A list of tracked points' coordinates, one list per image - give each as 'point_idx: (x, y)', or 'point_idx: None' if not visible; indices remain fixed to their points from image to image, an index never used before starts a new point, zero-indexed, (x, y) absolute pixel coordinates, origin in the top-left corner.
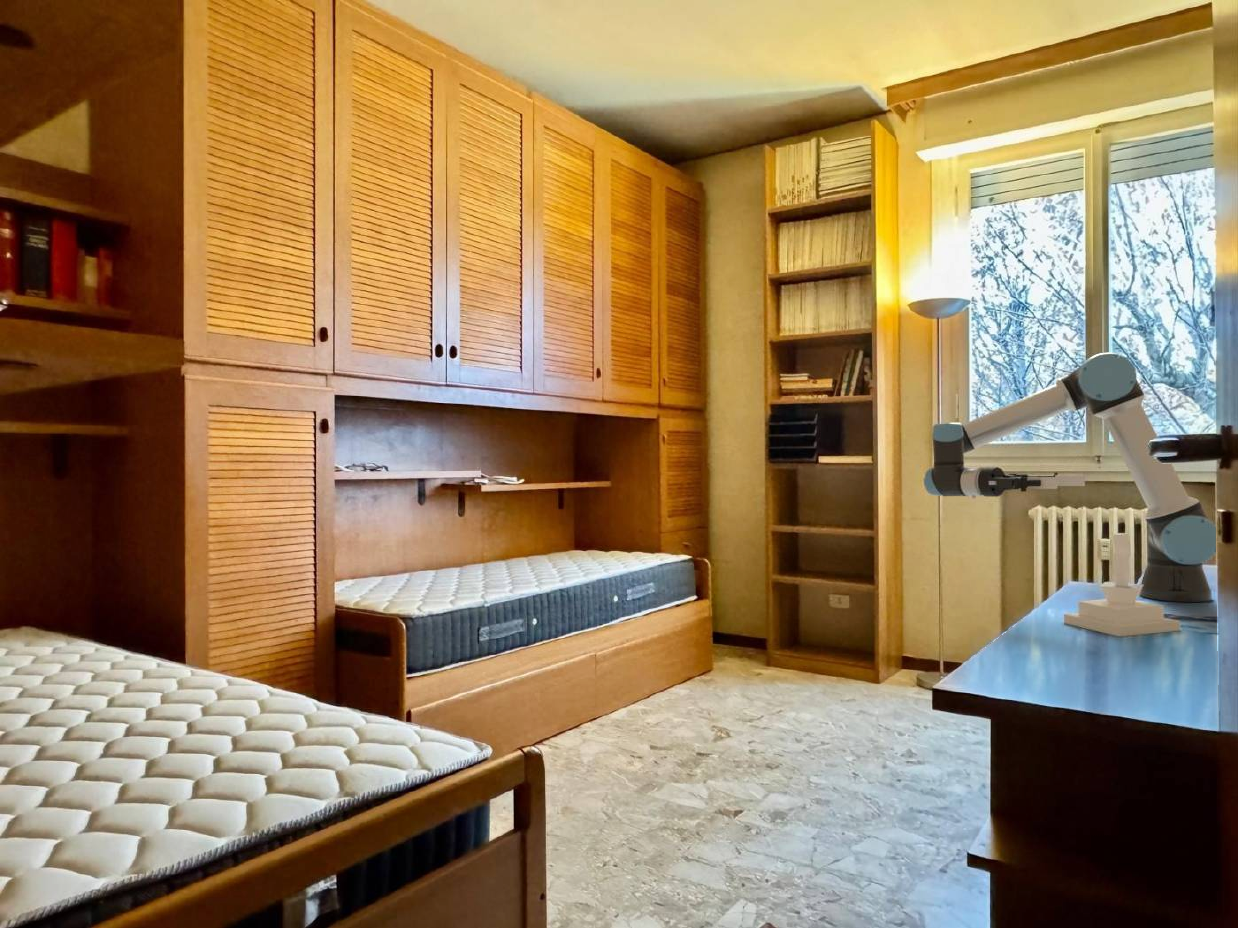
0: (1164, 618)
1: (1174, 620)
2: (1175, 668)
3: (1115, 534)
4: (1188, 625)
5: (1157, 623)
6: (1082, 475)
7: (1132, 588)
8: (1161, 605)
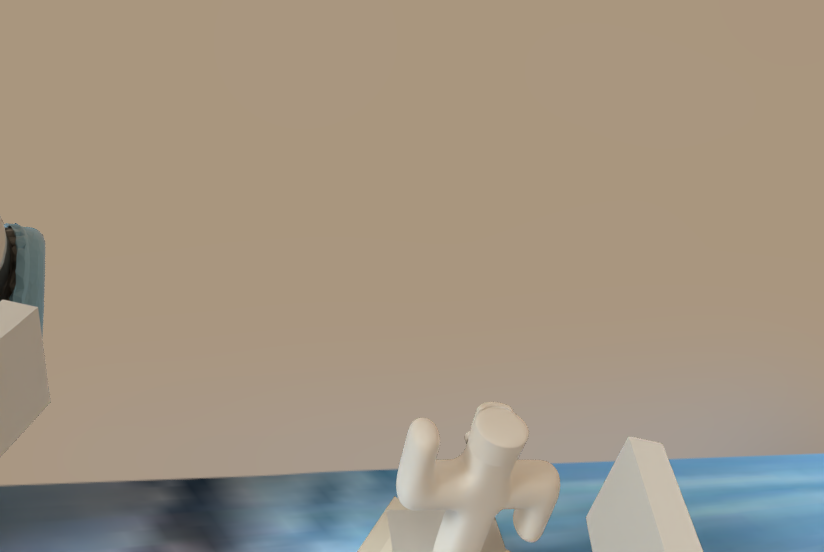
0: (384, 527)
1: (396, 506)
2: (736, 492)
3: (526, 437)
4: (305, 504)
5: None
6: (36, 316)
7: (492, 525)
8: None
